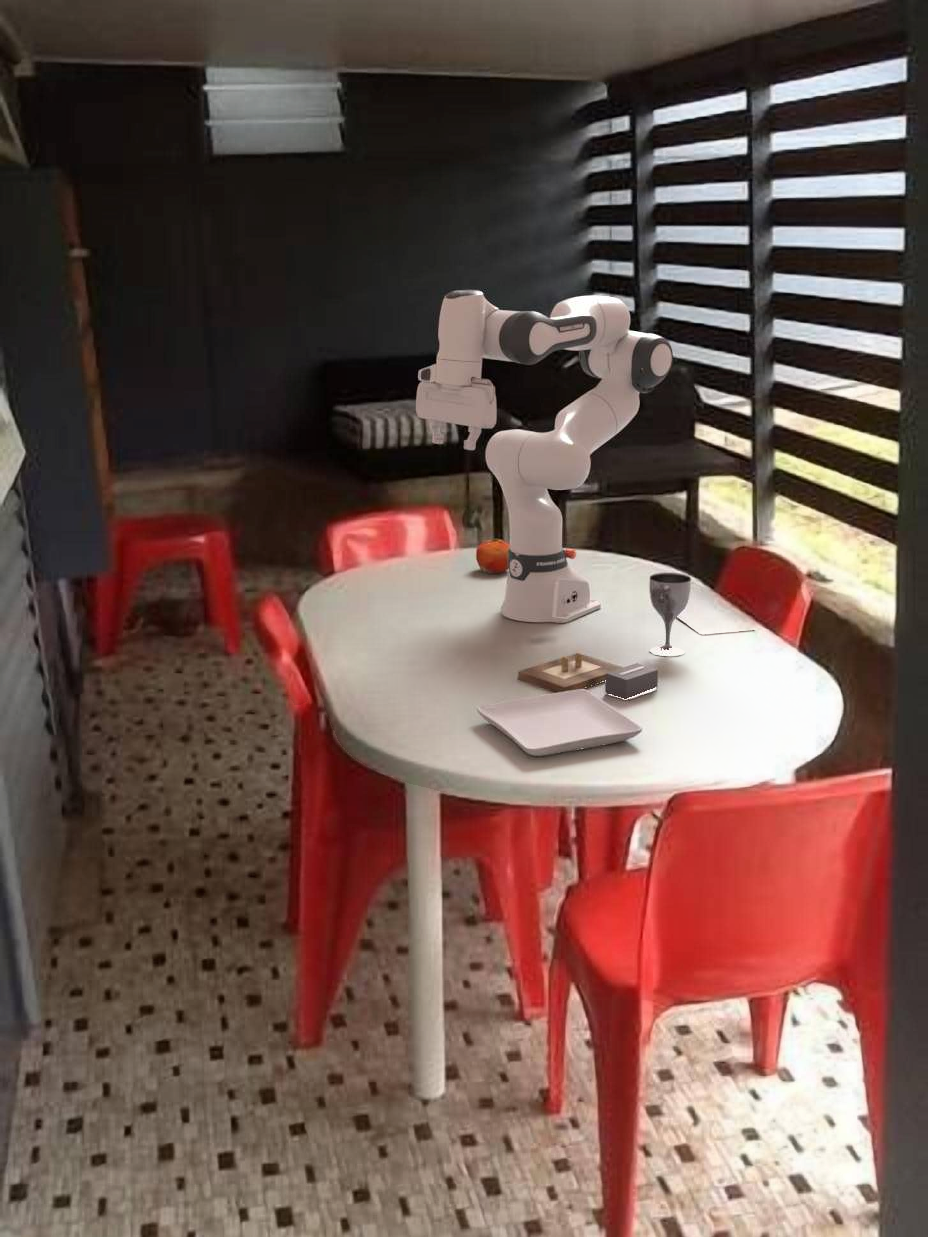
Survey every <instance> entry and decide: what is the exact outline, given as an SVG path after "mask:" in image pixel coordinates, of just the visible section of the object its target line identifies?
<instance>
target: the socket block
mask: <svg viewBox="0 0 928 1237" xmlns="http://www.w3.org/2000/svg"><path fill="white" fill-rule="evenodd" d="M622 667H623V668H620V669H617V670H614V671H611V672H608V673H606V682H604V684H605V685H604V686H605V688H604V691H605V692H606V693H607V694H612V695H614V696H618V697H621V698H624V699H627V698H629V697H632V696H635V695H637V694H640V693H642V692H645V691H647V690H650V689H653V688H655V687H657V688H658V682H659V680H658V679H659V678H658V676H659V669H657V668H654V667H652V666H648V665H644V664H642V663H638V662H636V663H632V664H630V665H626V666H622ZM605 692H604V693H605Z"/></svg>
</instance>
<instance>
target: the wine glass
mask: <svg viewBox="0 0 928 1237" xmlns="http://www.w3.org/2000/svg"><path fill="white" fill-rule="evenodd" d="M648 584H649V598H650V602H651V605H652V607H653V609H654V610H655V611H656V613H658V615H659V616H660V617H661V619H662V620H663V623H664V628H665V643H664V645H661V646H662V647H660V648H661V650H662V648H663V649H664V650H666V649H667V650H669V648H672V646H673V645H671V644H670V643H671V642H670V641H671V640H670V639H671V630H672V625H673V623H674V621H675V620H676V619H677V618H676V617H677V616H678V615H679V614H680V613H681V612H682V611H683V610H684V609H685V607H686V605H688V602H689V600H690V594H691V587H692V586H691V585H692V578H691V576H689V575H687V574H683V573H677V572H657V573H653V574H651V575H650V576H649V583H648Z"/></svg>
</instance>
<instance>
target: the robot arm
mask: <svg viewBox="0 0 928 1237" xmlns="http://www.w3.org/2000/svg"><path fill="white" fill-rule="evenodd" d="M438 320H439V321H438V333H437V336H438V342H439V347H438V348H439V349H438V351H437V354H436V363H434V364H431V365H430V366H427V367H423V368H421V369H419V370H418V374H417V378H418V381H420V382H419V384H418V385H417V390H416V397H415V398H416V399H415V412H416V414H417V417H418V418H419V419H425V420H428V426H429V430H430V432H431V434H432V437H431V442H432V444H436V445H442V444H444V438H445V435H444V434H442V431H441V426H442V422H443V423H448V424H455V425H458V426H459V425H460V426H465V427H468V430H467V431H468V433H469V434H468V437H467V439H465V440H463V449H464V450H467V451H475V449H476V444H477V441H478V439H479V437H480V435H482V434H481V433H482V429H493V428H494V427H495V426H496V424H497V396H496V386H494V384H493V383H492V381H491V380H490V379H488V378H482V368H483V359H487V360H488V359H489V360H497V361H504V362H514V363H516V364H522V365H527V366H530V365H531V366H532V365H536V364H537V363H539V362H540V361H542V360H544V359H545V358H547V356H548V355H551V354H552V353H554V352H557V351H560V350H567V351H578V357H579V358H578V360H579V362H580V366H581V369H582V370H583V372H584V373H585V374H587V375H588V376H590V377H593V378H596V379H599V380H600V381H599V383H598V384H597V385H596V386H595V387H594V388H592V389H591V390H589V391H587V392H586V393H584V394H583V395H581V396H580V397H579V398H577V399H575V400H574V401H573V402H571V403H569V404H568V405H567V406H565V407H563V409H561V410H560V411H558V413H557V414H556V417H555V421H554V429H553V430H551V431H547V432H537V431H530V430H525V429H520V428H519V429H518V428H517V429H508V430H507V429H506V430H500V431H498V432H496V433H494V435H492V436H491V438H490V439H489V441H488V442H487V445H486V447H485V462H486V465H487V468H488V469H489V470H490V472H492V474H493V475H494V477H495V478H496V479H497V481H498V483H499V485H500V487H501V489H502V493H503V495H504V498H505V502H506V506H507V509H508V510H507V511H508V518H509V519H508V520H509V545H510V548H509V549H508V555H507V558H508V568H509V569H508V570H507V571H508V572H507V577H506V578H507V579H506V587H505V588H506V589H505V594H504V600H503V601H502V608H501V614H502V616H504V617H505V618H508V619H510V620H514V621H517V622H519V621H520V622H526V623H558V624H560V623H562V624H564V623H568V622H571V621H572V620H575V619H578V618H580V617H583V616H584V615H587V614H589V613H592V612H594V611H596V610H599V609H601V608H602V607H601V603H600V601H598V599H595V598H592V597H591V592H590V584H589V582H588V580H587V579H586V578H585V577H584V576H583V575H581V574H580V573H579V572H577V570H575V569H573V567H571V566H569V563H568V560H567V559H568V558H569V559H571V560H574V559H575V558H576V556H577V551H576V550H575V549H570V548H566V549H564V548H563V516H562V512H561V510H560V509H559V507H558V505H556V504H555V503H554V501H553V499H552V497H551V496H550V494H549V491H548V489H549V490H554V491H559V490H560V491H562V490H574V489H577V488H579V487H581V486H582V485H583V484H584V483H585V481H586V479H587V478H588V477H589V473H590V470H591V462H592V461H591V457H590V456H591V454H593V452H594V451H596V450H597V449H599V448H600V447H601V446H603V445H604V444H605V443H607V442H608V441H609V440H611V439H612V438H614V437H615V436H616V435H617V434H619V432H621V431H622V430H623V429H624V428H625V427H627V425H628V424H629V423H630V422H631V421H632V420H633V418H635V416H636V415H637V414H638V411H639V408H640V393H641V394H647V393H650V392H652V391H653V390H654V389H655V387H656V386H657V385H659V384H660V383H661V382H662V381H663V380H664V379H665V378H666V376H668V374H669V372H670V371H671V368H672V366H673V362H674V361H673V360H674V354H673V348H672V346H671V344H670V342H669V340H668V339H666V338H665V337H663V336H661V335H658V334H655V333H646V332H642V331H641V332H640V331H635V330H630V325H631V314H630V310H629V308H628V307H627V305H626V303H624V301H622V300H620V299H619V298H617V297H612V296H608V295H607V296H606V295H597V294H596V295H592V294H591V295H581V296H575V297H570V298H567V299H564V300H562V301H559V302H558V303H556V304H555V305H554V307H553V308H552V311H551V313H550V317H548V316H546V315H544V314H542V313H540V312H537V311H532V310H531V311H530V310H529V311H528V310H527V311H526V310H525V311H516V310H502V309H499V307H496V306H495V305H493V304H492V303H490V301H488V300H487V299H486V297H485V296H484V292H482V291H480V290H478V289H477V290H476V289H460V290H458V289H457V290H453V291H450V292H448V293H447V294H446V295H444V298H443V299H442V304H441V308H440V314H439V319H438Z"/></svg>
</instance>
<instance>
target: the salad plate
mask: <svg viewBox="0 0 928 1237" xmlns="http://www.w3.org/2000/svg"><path fill="white" fill-rule="evenodd" d="M476 711H477V713H478V714H479V716H480V717H482V718H483V719H484V720H485V721H486V722H488V723H489V724H491V725H492V726H493V727H495V728H497V729H498V730H499V731H501V733H503V734H505V735H506V737H508V738H510V739H511V740H512V742H514V743H516V744H517V745H518V746H519V747H520V748H521V749H522V750H523V751H524V752H526V754H528V755H531V756H536V757H542V756H549V755H550V754H551V755H556V754H555V753H557V754H561V753H560V752H563V753H566V752H565V751H568V752H572V751H571V750H574V751H578V750H577V749H580V750H582V749H581V748H586V749H589V748H588V747H591V748H594V747H593V746H596V747H599V746H598V745H602V746H604V745H603V744H607V745H610V744H609V743H611V744H615V743H620V742H624V741H627V740H631V739H632V738H634V737H636V736H637V735H640V733H641V732H642V731H643V728H642V726H641V725H639V724H638V723H636V722H635V721H634V720H632V719H630V718H629V717H627V716H625V714H623V713H622V712H620V711H618V710H617V709H615V708H614V707H613V706H611V705H609V704H608V703H607V702H605V701H603V700H602V699H601V698H600V697H598V696H596V695H595V694H593V693H591V692H590V691H588V690H587V689H586V688H585V689H578V690H572V691H565V692H559V693H557V692H553V693H547V694H546V693H545V694H542V695H535V696H530V697H524V698H518V699H512V700H508V701H507V700H506V701H502V702H496V703H489V704H484V705H483V704H482V705H480V706H477V707H476Z"/></svg>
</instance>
